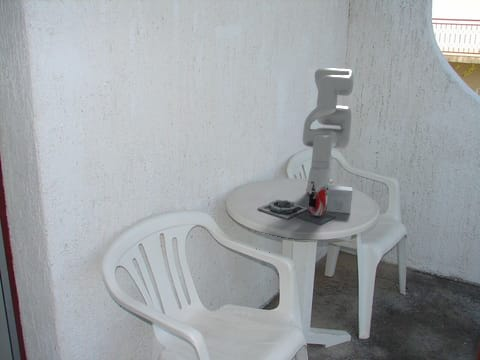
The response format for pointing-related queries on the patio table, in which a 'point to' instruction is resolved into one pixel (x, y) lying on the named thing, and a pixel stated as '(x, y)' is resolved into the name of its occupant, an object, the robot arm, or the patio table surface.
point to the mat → (316, 218)
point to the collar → (283, 209)
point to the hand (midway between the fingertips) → (317, 204)
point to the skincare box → (339, 199)
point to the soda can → (319, 203)
